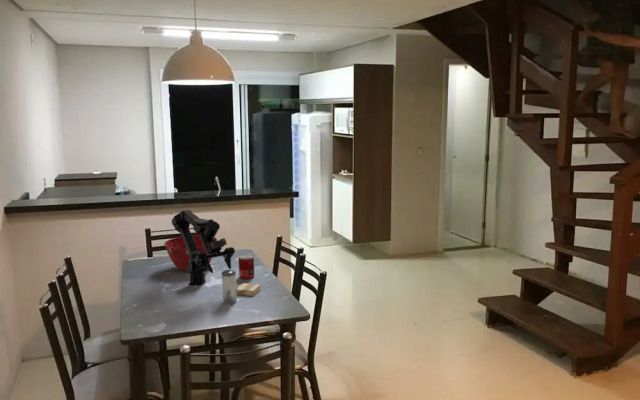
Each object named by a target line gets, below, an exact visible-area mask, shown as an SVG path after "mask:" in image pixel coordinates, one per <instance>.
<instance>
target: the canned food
mask: <svg viewBox="0 0 640 400" xmlns="http://www.w3.org/2000/svg"><path fill="white" fill-rule="evenodd" d="M238 276H239V278H240V279H243V280H248V279H253V278H255V257H254V254H240V255H239V256H238Z"/></svg>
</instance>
